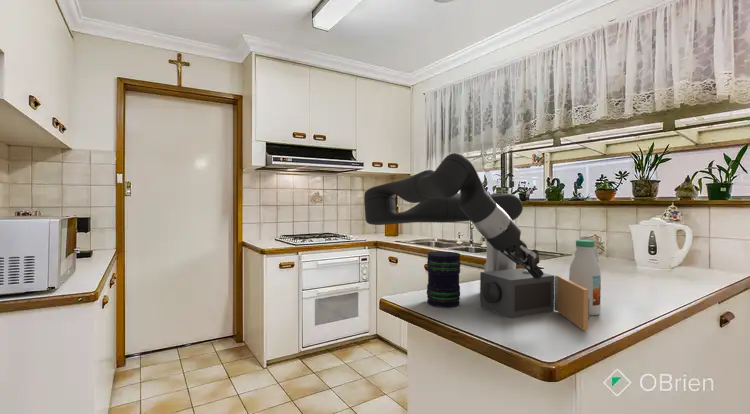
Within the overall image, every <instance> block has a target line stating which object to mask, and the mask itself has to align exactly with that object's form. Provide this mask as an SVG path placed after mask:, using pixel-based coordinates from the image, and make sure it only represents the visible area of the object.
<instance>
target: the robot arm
mask: <svg viewBox="0 0 750 414" xmlns="http://www.w3.org/2000/svg"><path fill="white" fill-rule="evenodd" d="M459 192H460V193H459ZM396 196H397V197H399V198H400V199H402V200H404V201H406V202H408V203H411V204H415V205H414V206H413V207H410V208H408V209H407V210H404V211H400V212H399V211H398V212H397V206H396ZM363 200H364V201H363V203H364V216H365V217H364V219H365V222H366V223H367V224H368V225H372V226H385V225H386V226H387V225H399V224H410V223H413V224H414V223H434V224H435V223H437V224H438V223H440V224H441V223H443V224H444V223H445V224H446V223H460V222H471V223H472V224H473V226H474V227H475V229H476V230H477V231H478V233H480V234H481V236H482V237H483V238H484V239H485V240H486V258H485V259H486V262H485V263H484V265H483V266H484V267H483V270H484V271H483V272H487V271H498V270H508V269H517V268H516V267H517V266H521V268H523V269H526V270H527V271H528V272H529V273H530V274H531V275H532V276H533V278H536V279H540V278H541V277H542V275H543V273H544V272H543V271H542V269H541V268H540V267H539V266H538V264H539V263H540V261H541V260H540V254H539V251H538V249H533V250H531V249H529V248H528V246H527V244H526V242H525V241H523V240H521V233H522V230H521V229H520V227H519V226H518V225H517V224H516V223H515V222H514V221H515V220H517V218H519V217H520V215H521V214H522V213H523V210H524V205H523V203H522V200H521V199H520V198H519V197H518V196H517V195H515V194H513V193H510V192H509V193H507V192H500V193H492V194H489V193H488V192H487V191H486V189H485V187H484V185H483V182H482V181H481V178H480V176H479V174H478V172H477V170H476V168H475V166H474V165H473V163H472V162H471V161H470V160H469V159H468V158H467V157H465V155H462V154H460V153H450V154H448V155H447V156H446V157H444V159H443V160H442V161H441V163H440V164H439V165H438V167H436V169H434V170H432V169H428V170H422V171H420V172H418V173H416V174H413V175H411V176H410V177H407V178H404V179H400V180H396V181H392V182H388V183H384V184H379V185H376V186H373V187H370V188H368V189H367V190H366V191H365V192H364V195H363ZM516 265H517V266H516Z"/></svg>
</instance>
